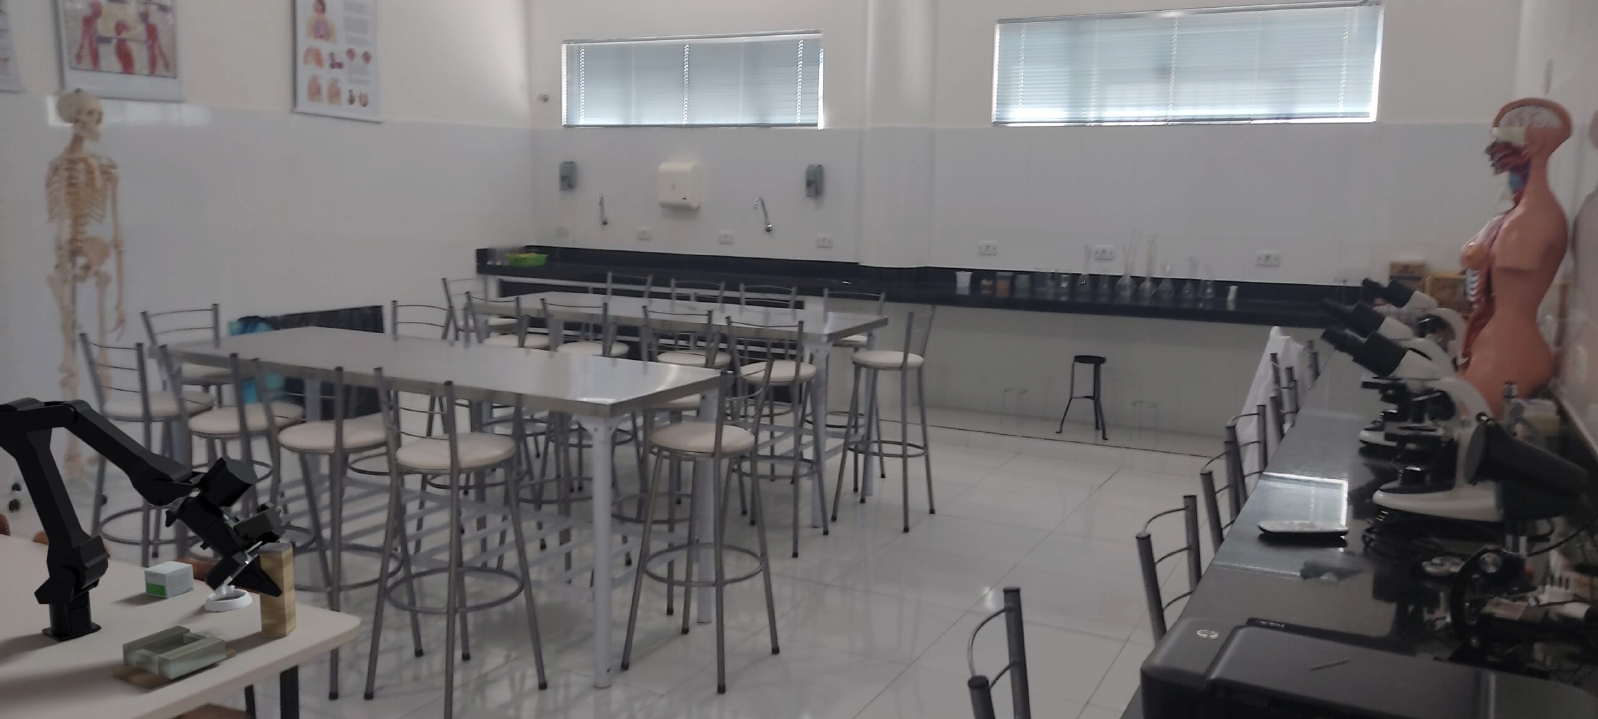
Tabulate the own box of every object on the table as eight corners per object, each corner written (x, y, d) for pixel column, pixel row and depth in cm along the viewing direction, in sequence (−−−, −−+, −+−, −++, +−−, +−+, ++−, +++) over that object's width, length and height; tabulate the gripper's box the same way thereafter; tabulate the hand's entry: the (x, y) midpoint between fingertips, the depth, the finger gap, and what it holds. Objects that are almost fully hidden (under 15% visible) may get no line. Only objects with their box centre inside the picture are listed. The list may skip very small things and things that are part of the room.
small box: (144, 595, 204) (142, 568, 203) (173, 585, 209) (171, 559, 208) (167, 599, 202) (165, 573, 201) (195, 589, 207) (193, 563, 206)
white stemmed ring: (264, 584, 195) (226, 564, 193) (230, 633, 198) (193, 614, 196) (279, 561, 202) (242, 542, 200) (246, 609, 205) (210, 590, 203)
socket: (107, 674, 170) (105, 650, 170) (194, 642, 183) (192, 620, 182) (154, 690, 165) (153, 665, 164) (241, 656, 177) (239, 633, 177)
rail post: (261, 635, 186) (257, 550, 184) (272, 626, 190) (267, 542, 188) (286, 635, 186) (282, 550, 184) (296, 626, 190) (292, 542, 188)
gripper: (220, 507, 175) (296, 576, 177) (271, 477, 193) (339, 540, 195) (171, 556, 176) (248, 624, 178) (227, 522, 194) (295, 583, 196)
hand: (285, 590), depth 187 cm, fingers closed on rail post, 4 cm apart
